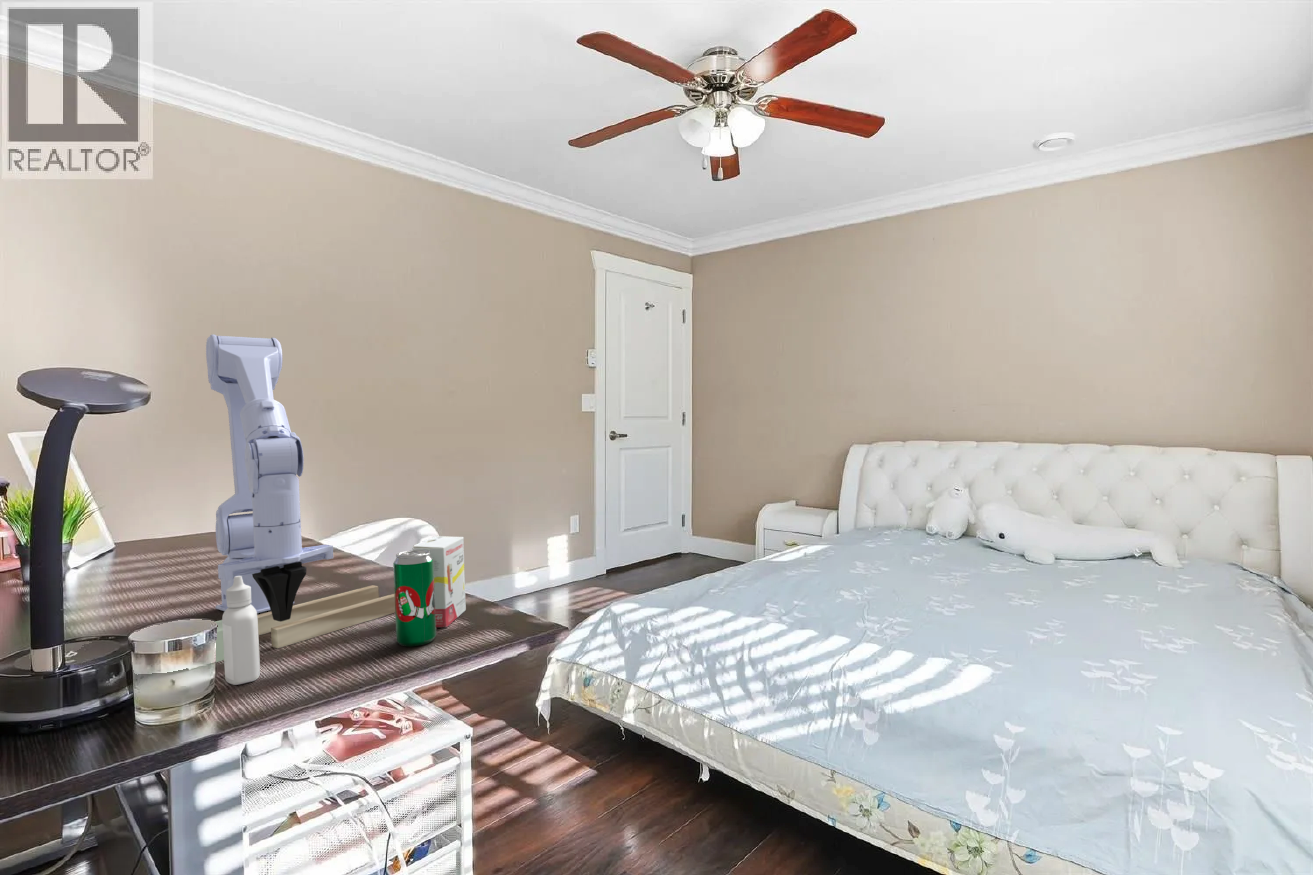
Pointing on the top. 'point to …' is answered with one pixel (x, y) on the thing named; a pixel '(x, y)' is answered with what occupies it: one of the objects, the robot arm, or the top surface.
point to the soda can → (414, 598)
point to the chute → (326, 615)
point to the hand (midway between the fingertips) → (281, 619)
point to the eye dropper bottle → (240, 635)
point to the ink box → (447, 576)
